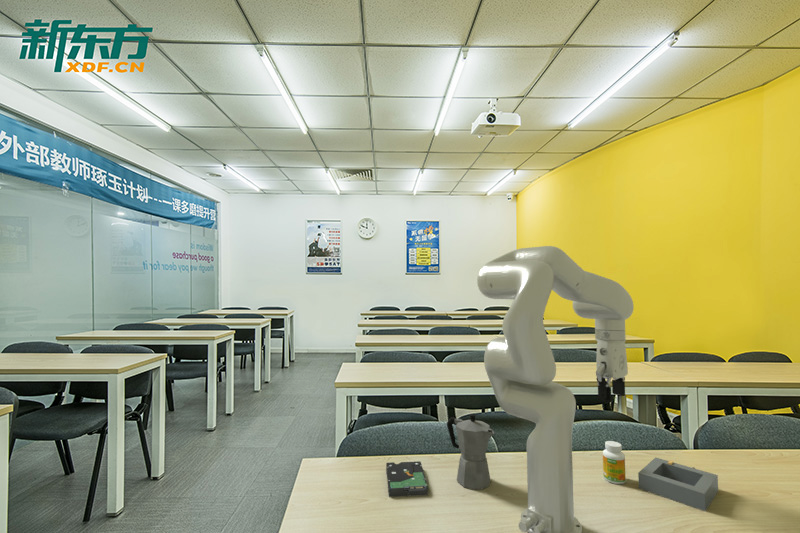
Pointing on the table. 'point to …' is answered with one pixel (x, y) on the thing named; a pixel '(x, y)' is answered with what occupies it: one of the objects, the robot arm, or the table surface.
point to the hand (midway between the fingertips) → (611, 397)
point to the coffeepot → (471, 451)
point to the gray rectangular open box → (679, 483)
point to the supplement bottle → (614, 463)
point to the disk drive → (406, 479)
